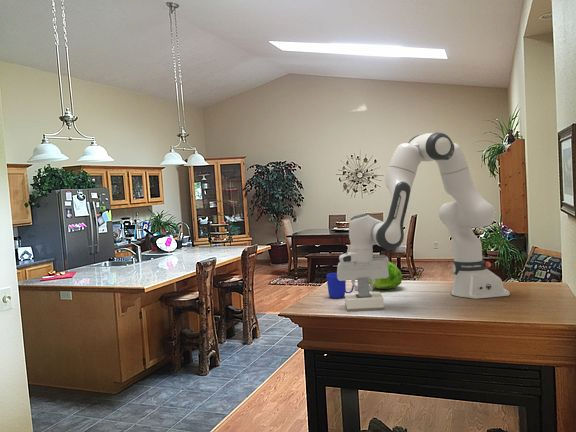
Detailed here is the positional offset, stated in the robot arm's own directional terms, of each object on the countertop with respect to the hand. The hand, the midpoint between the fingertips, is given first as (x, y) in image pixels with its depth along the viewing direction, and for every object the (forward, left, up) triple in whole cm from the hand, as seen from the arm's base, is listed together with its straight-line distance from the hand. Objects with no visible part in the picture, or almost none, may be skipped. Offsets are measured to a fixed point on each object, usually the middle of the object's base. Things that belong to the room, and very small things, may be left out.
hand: (363, 290), depth 199 cm
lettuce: (-11, -33, -7) cm, 35 cm away
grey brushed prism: (0, 0, -5) cm, 5 cm away
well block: (0, 0, -7) cm, 7 cm away
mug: (+8, -20, -7) cm, 23 cm away
